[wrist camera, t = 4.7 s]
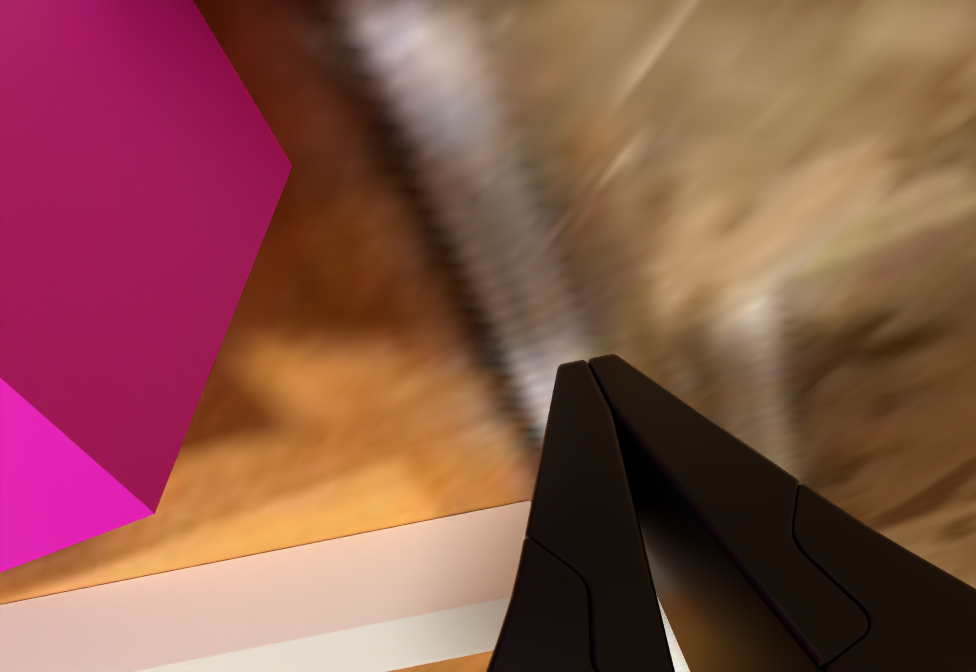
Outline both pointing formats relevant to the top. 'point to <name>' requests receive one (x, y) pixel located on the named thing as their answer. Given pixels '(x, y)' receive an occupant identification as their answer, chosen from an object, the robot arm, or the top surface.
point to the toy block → (115, 253)
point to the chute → (289, 606)
